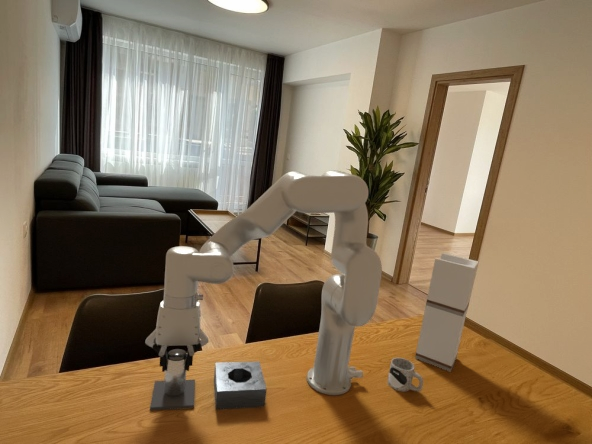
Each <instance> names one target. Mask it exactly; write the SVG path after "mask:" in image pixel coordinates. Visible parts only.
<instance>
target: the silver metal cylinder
mask: <svg viewBox="0 0 592 444" xmlns="http://www.w3.org/2000/svg"><path fill="white" fill-rule="evenodd" d="M186 364H187V351H186V350H184V349H180V348H175V349H171V350H169V351H167V355H166V368H165V371H164V380H163V381H164V392H165V393H166V394H168V395H179V394H181V393H182V392H184V390H185V382H186V380H187V378H186V377H187V370H186Z"/></svg>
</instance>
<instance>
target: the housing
mask: <svg viewBox="0 0 592 444" xmlns="http://www.w3.org/2000/svg"><path fill="white" fill-rule="evenodd" d="M213 374H214V375H213V386H214V388H213V389H214V406H215V409H214V410H217V411H218V410H234V409H235V410H236V409H248V408H249V409H251V408H252V409H253V408H255V409H256V408H265V406H266V398H267V397H266V396H267V389H268V388H267V385H266V382H265V377H264V374H263V370H262V366H261V363H260V361H232V362H231V361H229V362H226V361H225V362H223V361H221V362H215V363H214V373H213Z"/></svg>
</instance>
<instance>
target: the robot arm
mask: <svg viewBox="0 0 592 444" xmlns="http://www.w3.org/2000/svg"><path fill="white" fill-rule="evenodd" d="M368 198H369V188H368V185H367V183H366V181H365V180H364V179H362V178H361V177H360V176H358V175H355V174H352V173H347V172H345V171H342V170H328V171H326V172H324V173H323V174H322V175H311V174H306V173H303V172H299V171H295V170H294V171H289V172H287V173H285V174H283V175H282V176H281V177H280V178H278V180H276V181H275V182H274V183H273V184H272V185H271V186H270V187H269V188H268V189H267V190H266V191H265V192H264V193H263V194H262V195H261V196H260V197H258V199H257V200H255V201H254V202H253V203H252V204H251V205H250V206H249V207H248V208H247V209H245V210H244V211H243V212H241V213H239V214H237V216H235V217H234V218H232V219H231V220H229V221H227V222H226V223H225V224H223V225H222V226H221V227H220V228H218V230H217V231H216V232H215V233H214V234H213V235H212V236H210V237H209V239H207V240H206V242H204V244H203V245H202V246H201V248H200V249H199V250H198V249H197V248H195V247H192V246H185V245H184V246H183V245H180V246H174V247H171V248H169V249H168V250H167V252H166V253H165V267H164V268H165V271H164V288H163V300H162V301H160V304H159V307H158V312H157V319H156V325H155V326H156V327H155V329H154V330H153V331H152V332H151V333H150V334H149V335H148V336H147V337H146V339H145V342H144V343H145V345H146V346H148V347H150V348H151V349H152V350H153V351H154V352H156V354H158V356H159V367H162V368H161V372H163V373H165V368H166V355H167V354H168V351H167V347H169V346H175V347H176V346H186V347H187V351H186V353H187V364H186V372H189V371H190V367H191V366H193V361H194V355H195V354H196V353H197V352H198V351H200V350H201V348H202V347H204V346H205V345H207V344H208V343H209V342H210V341H209V337H208V336H207V334H206V333H205V332H204V331H203V329H202V328H201V319H202V318H201V305H200V302H199V301H204V294H201V293H199V292H198V287H199V282H200V283H205V284H212V285H220V284H224V283H227V282H228V281H230V279H231V278H232V277H233V275H234V271H235V266H234V262H233V259H232V258H231V257H233V255H234V254H236V252H237V251H239V249H240V248H242V247H243V246H244V245H246V244H247V243H249V242H251V241H253V240H257V239H258V240H259V239H263V238H267V237H270V236H272V235H273V234H274V233H275V232H277V231H278V229H279V228H280V227H281V226H283V225H284V224H285V222H286V221H288V220H289V218H291V217H292V216H293V215H294V214H295V213H296V212H298V213H302V214H303V213H304V214H329V213H330V214H331V213H334V230H333V231H334V232H333V239H332V246H331V253H330V261H331V264H332V266H333V267H334V268H335V270H337V271H338V272H339V273H335V274H332V275H330V276H329V277H328V278H327V279H326V280H325V281H324V284H323V285H322V290H321V315H320V323H319V330H318V334H317V335H318V337H317V342H316V343H317V344H316V350H315V356H314V362H313V367H311V368H310V369H309V370H308V371H307V374H306V381H307V383H308V385H309V386H310V387H311V388H313V389H314V390H315V391H316V392H319V393H321V394H325V395H328V396H339V395H344V394H345V393H348V391H350V389H351V386H352V379H353V378H363V377H364V372H363V370H361V369H360V370H356V367H355V366H349V363H350V357H351V351H352V346H353V341H354V340H353V339H354V335H355V329H356V328H357V327H362V326H363V327H364V326H365V325H366V324H368V323H369V322H370V321H371V320H372V318H373V316H374V314H375V312H376V309H377V305H378V299H379V298H378V297H379V295H380V294H379V293H380V288H381V281H382V280H381V279H382V271H383V268H382V261H381V258H380V256H379V255H378V253H377V252H376V250H374V249H373V248H371V247H370V246H368V245H367V236H368V225H369V215H368V209H367V204H366V202H367V200H368Z"/></svg>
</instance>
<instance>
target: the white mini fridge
mask: <svg viewBox="0 0 592 444" xmlns="http://www.w3.org/2000/svg"><path fill="white" fill-rule="evenodd" d="M433 263H434V264H433V268H432V272H431V277H430V283H429V288H428V292H427V293H428V294H427V298H426V302H425V307H424V312H423V317H422V322H421V327H420V332H419V337H418V340H417V346H416V352H415V357H414V359H415V358H416V360H418V359H419V360H418V361H421V362H423V361H424V363H426V364H428V363H429V365H431V364H432V365H431V366H433V365H434V367H436V366H437V367H436V368H438V367H439V369H441V368H442V370H443V371H444V370H445V371H446V370H447V372H449V373H451V372H452V370H453V368H454V365H455V363H456V361H457V358H458V352H459V347H460V344H461V339H462V334H463V331H464V327H465V326H464V325H465V322H466V321H465V320H466V318H467V317H466V316H467V312H468V309H469V305H470V301H471V296H472V292H473V289H474V288H473V287H474V284H475V280H476V279H475V278H476V274H477V269H478V265H479V261H478V260H473V259H470V258H466V257H462V256H461V257H460V256H457V255H454V254H449V253H445V252H441V255H440V258H437V257H435V258H434V262H433ZM455 360H456V361H455Z"/></svg>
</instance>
